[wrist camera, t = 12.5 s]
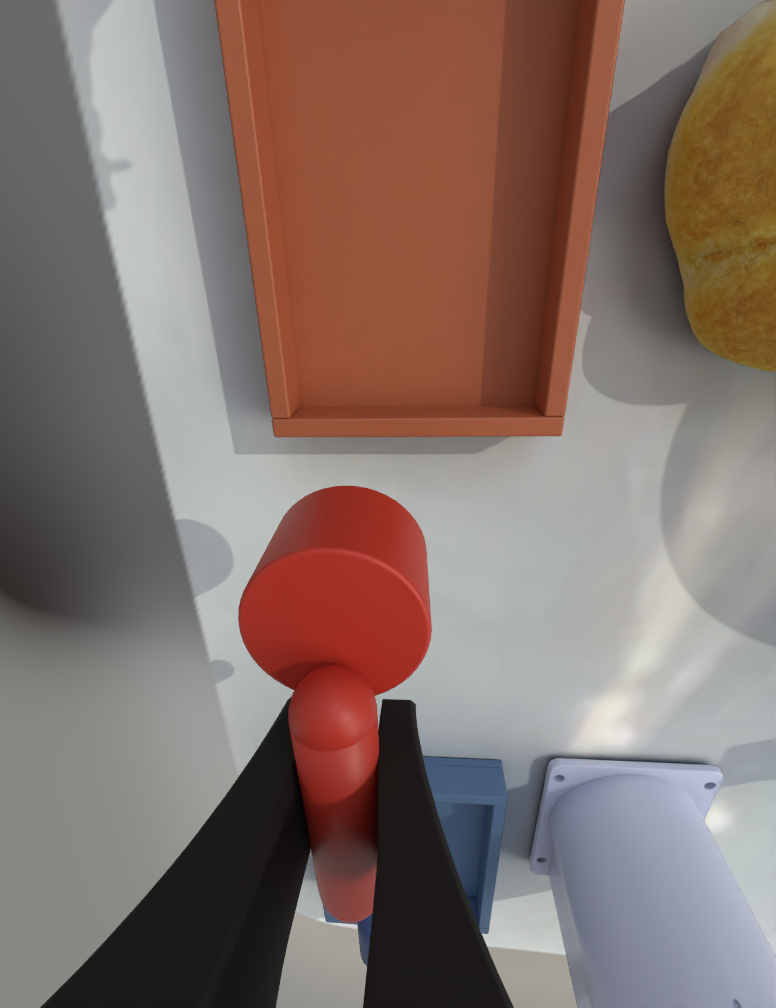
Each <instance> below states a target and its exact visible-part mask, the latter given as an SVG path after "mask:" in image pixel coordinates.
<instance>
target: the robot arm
mask: <svg viewBox="0 0 776 1008" xmlns="http://www.w3.org/2000/svg"><path fill="white" fill-rule="evenodd" d="M290 701H291V698H290V699H288V700H287V702H286V704H285V706H284V707H283V709H282V711H281V713H280V714H279V716H278V718H277V719H276V721H275V722H274V724H273V726H272V727H271V729H270V731H269V732H268V734H267V735H266V737H265V738H264V740H263V742H262V743H261V745H260V746H259V748H258V749H257V751H256V752H255V754H254V755H253V757H252V758H251V760H250V761H249V763H248V764H247V766H246V767H245V768H244V770H243V771H242V773H241V774H240V776H239V777H238V779H237V780H236V781H235V783H234V784H233V786H232V787H231V789H230V790H229V792H228V793H227V794H226V796H225V797H224V799H223V800H222V801H221V803H220V804H219V805H218V806H217V808H216V809H215V810H214V812H213V813H212V814H211V816H210V817H209V818H208V820H207V821H206V822H205V824H204V825H203V826H202V828H201V829H200V830H199V832H198V833H197V834H196V835H195V837H194V838H193V839H192V841H191V842H190V843H189V845H188V846H187V847H186V848H185V850H184V851H183V852H182V853H181V855H180V856H179V857H178V858H177V859H176V861H175V862H174V863H173V864H172V866H171V867H170V868H169V869H168V870H167V872H166V873H165V874H164V875H163V876H162V878H161V879H160V880H159V881H158V882H157V883H156V884H155V886H154V887H153V888H152V889H151V890H150V891H149V893H148V894H147V895H146V896H145V897H144V899H143V900H142V901H141V902H140V903H139V904H138V906H136V907H135V909H134V910H133V911H132V912H131V913H130V914H129V915H128V916H127V917H126V919H125V920H124V921H123V922H122V923H121V924H120V925H119V926H118V927H117V928H116V930H115V931H114V932H113V933H112V934H111V935H110V936H109V937H108V938H107V940H106V941H105V942H104V943H103V944H102V945H101V946H100V947H99V948H98V949H97V950H96V951H95V952H94V954H93V955H92V956H91V957H90V958H89V959H88V960H87V961H86V962H85V963H84V964H83V965H82V966H81V967H80V968H79V969H78V970H77V971H76V972H75V973H74V974H73V975H72V976H71V977H70V978H69V979H68V981H66V982H65V983H64V984H63V985H62V986H61V987H60V988H59V989H58V990H57V992H56V993H54V995H52V996H51V997H50V998H49V999H48V1000H47V1002H45V1003H44V1004H43V1005H42V1006H41V1007H40V1008H276V1002H277V997H278V990H279V985H280V979H281V973H282V967H283V963H284V958H285V953H286V949H287V943H288V939H289V935H290V930H291V927H292V922H293V918H294V914H295V910H296V906H297V902H298V898H299V894H300V890H301V886H302V882H303V877H304V873H305V869H306V865H307V861H308V857H309V853H310V849H311V845H310V839H309V834H308V828H307V823H306V817H305V812H304V806H303V800H302V795H301V789H300V784H299V778H298V772H297V767H296V761H295V756H294V750H293V745H292V739H291V733H290V728H289V721H288V720H289V718H288V711H289V705H290ZM378 736H379V757H378V847H377V869H376V880H375V891H374V901H373V912H372V923H371V933H370V943H369V953H368V963H367V974H366V984H365V994H364V1004H363V1008H514V1007H513V1005H512V1003H511V1001H510V999H509V996H508V994H507V992H506V990H505V988H504V985H503V983H502V981H501V979H500V976H499V974H498V972H497V970H496V967H495V965H494V963H493V960H492V958H491V956H490V953H489V951H488V948H487V946H486V943H485V941H484V939H483V936H482V934H481V931H480V929H479V927H478V924H477V921H476V919H475V916H474V914H473V911H472V909H471V906H470V904H469V901H468V899H467V896H466V893H465V891H464V888H463V885H462V883H461V880H460V877H459V875H458V872H457V869H456V866H455V864H454V861H453V858H452V855H451V852H450V849H449V846H448V843H447V840H446V837H445V834H444V831H443V828H442V825H441V822H440V819H439V815H438V812H437V809H436V805H435V802H434V798H433V795H432V791H431V788H430V784H429V781H428V777H427V773H426V769H425V765H424V760H423V756H422V751H421V746H420V741H419V735H418V729H417V720H416V704H415V703H413V702H412V701H411V700H391V699H383V700H382V707H381V714H380V722H379V730H378ZM722 780H723V774H722V773H721V771H720V769H719V768H718V767H716V766H714V765H701V764H679V763H656V762H634V761H612V760H590V759H568V758H556V759H553V760H551V761H550V762H549V764H548V767H547V773H546V778H545V783H544V788H543V793H542V799H541V804H540V809H539V814H538V819H537V824H536V830H535V835H534V840H533V845H532V850H531V856H530V861H529V864H530V870H531V871H532V872H533V873H535V874H539V875H549V878H550V882H551V887H552V892H553V896H554V901H555V906H556V910H557V915H558V920H559V924H560V929H561V933H562V938H563V943H564V947H565V952H566V957H567V961H568V966H569V971H570V975H571V979H572V985H573V989H574V994H575V998H576V1003H577V1007H578V1008H776V955H775V953H774V951H773V949H772V948H771V946H770V944H769V942H768V940H767V938H766V936H765V934H764V932H763V931H762V929H761V927H760V925H759V923H758V921H757V919H756V917H755V915H754V913H753V912H752V910H751V908H750V906H749V904H748V902H747V900H746V898H745V896H744V894H743V893H742V891H741V889H740V887H739V885H738V883H737V881H736V879H735V877H734V875H733V874H732V872H731V870H730V868H729V866H728V864H727V862H726V860H725V858H724V857H723V855H722V853H721V851H720V849H719V847H718V845H717V843H716V841H715V839H714V838H713V836H712V834H711V832H710V830H709V828H708V826H707V824H706V822H705V818H706V815H707V813H708V811H709V809H710V807H711V804H712V802H713V800H714V798H715V796H716V793H717V791H718V789H719V787H720V785H721V782H722Z"/></svg>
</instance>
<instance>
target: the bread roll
mask: <svg viewBox="0 0 776 1008" xmlns="http://www.w3.org/2000/svg"><path fill="white" fill-rule="evenodd" d="M665 218H666V224H667V227H668V230H669V233H670V237H671V240H672V244H673V247H674V250H675V252H676V255H677V259H678V263H679V269H680V272H681V276H682V279H683V285H684V302H685V309H686V314H687V317H688V320H689V323H690V326H691V328H692V331H693V333H694V335H695V337H696V338H697V340H698V341H699V342H700V343H701V344H702V345H703V346H704V347H705V348H706V349H708V350H710V351H711V352H713V353H715V354H717V355H719V356H721V357H723V358H725V359H728V360H730V361H732V362H735V363H738V364H741V365H745V366H748V367H752V368H756V369H760V370H764V371H771V372H776V0H767V1H765V2H762V3H761V4H759V5H758V6H756V7H755V8H753V9H752V10H751V11H749V12H748V13H746V14H745V15H744V16H742V17H741V18H740V19H738V20H737V21H736V22H734V23H733V24H732V25H731V26H729V27H728V28H727V29H725V30H724V31H723V32H722V33H721V34H720V35H719V37H718V38H717V40H716V41H715V43H714V44H713V46H712V47H711V49H710V52H709V54H708V57H707V59H706V61H705V64H704V66H703V69H702V71H701V74H700V76H699V78H698V81H697V83H696V86H695V88H694V90H693V93H692V94H691V96H690V98H689V100H688V102H687V104H686V105H685V107H684V109H683V112H682V114H681V117H680V119H679V121H678V124H677V126H676V129H675V132H674V135H673V138H672V141H671V145H670V148H669V151H668V157H667V166H666V175H665Z"/></svg>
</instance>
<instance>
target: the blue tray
mask: <svg viewBox="0 0 776 1008" xmlns="http://www.w3.org/2000/svg"><path fill="white" fill-rule="evenodd" d="M423 760H424V765H425V769H426V773H427V777H428V781H429V784H430V788H431V791H432V795H433V798H434V802H435V805H436V809H437V812H438V815H439V819H440V822H441V825H442V828H443V831H444V834H445V837H446V840H447V843H448V846H449V849H450V852H451V855H452V858H453V861H454V864H455V866H456V869H457V872H458V875H459V877H460V880H461V883H462V885H463V888H464V891H465V893H466V896H467V899H468V901H469V904H470V906H471V909H472V911H473V914H474V916H475V919H476V921H477V924H478V927H479V929H480V931H481V933H484V934H488V932H489V924H490V917H491V910H492V903H493V896H494V889H495V882H496V875H497V868H498V861H499V854H500V846H501V839H502V832H503V825H504V818H505V811H506V804H507V792H506V786H505V780H504V774H503V769H502V762H501V760H484V759H462V758H441V757H423ZM323 908H324V914H325V919H326V922H333V923H347V922H342V921H340V920H338V919H336V918H335V917H333V916H332V915H331V914H330V913H329V912H328V911H327V910H326V908H325V906H324V904H323ZM347 924H357V922H355V923H347Z"/></svg>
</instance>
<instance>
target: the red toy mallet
mask: <svg viewBox="0 0 776 1008" xmlns="http://www.w3.org/2000/svg"><path fill="white" fill-rule="evenodd" d="M238 619H239V627H240V633H241V636H242V639H243V642H244V644H245V646H246V648H247V650H248V652H249V653H250V655H251V656H252V658H253V659H254V661H255V662H256V663H257V664H258V665H259V666H260V667H261V668H262V669H263V670H264V671H265V672H266V673H267V674H268V675H270V676H271V677H272V678H274V679H275V680H276V681H278V682H280V683H281V684H283V685H285V686H287V687H289V688H291V689H293V690H295V691H294V692H293V695H292V697H291V701H290V705H289V711H288V718H289V720H288V721H289V728H290V733H291V739H292V745H293V750H294V756H295V761H296V767H297V772H298V778H299V784H300V789H301V795H302V800H303V806H304V812H305V817H306V823H307V828H308V834H309V839H310V845H311V851H312V856H313V862H314V867H315V873H316V878H317V884H318V890H319V894H320V897H321V900H322V902H323V904H324V906H325V908H326V910H327V911H328V912H329V913H330V914H331V915H332V916H333V917H335V918H336V919H338V920H340V921H342V922H347V923H355V922H359V921H362V920H364V919H365V918H367V917H368V916H369V915H371V914H372V912H373V901H374V891H375V880H376V869H377V847H378V757H379V736H378V719H377V704H376V699H375V695H378V694H381V693H383V692H386V691H388V690H390V689H392V688H394V687H396V686H397V685H399V684H400V683H402V682H403V681H405V680H406V679H407V678H408V677H409V676H411V674H412V673H413V672H414V671H415V670H416V669H417V668H418V666H419V665H420V663H421V662H422V660H423V659H424V657H425V654H426V652H427V650H428V647H429V644H430V640H431V631H432V628H431V613H430V597H429V582H428V567H427V552H426V544H425V539H424V536H423V534H422V531H421V529H420V527H419V525H418V524H417V522H416V520H415V519H414V518H413V517H412V515H411V514H410V513H409V512H408V511H407V510H406V509H405V508H404V507H403V506H402V505H400V504H399V503H398V502H396V501H395V500H393V499H392V498H390V497H388V496H387V495H384V494H382V493H380V492H378V491H375V490H371V489H368V488H363V487H357V486H335V487H330V488H325V489H321V490H318V491H315V492H313V493H311V494H309V495H307V496H305V497H304V498H302V499H301V500H299V501H298V502H297V503H295V504H294V505H293V506H292V507H291V508H290V509H289V510H288V512H287V513H286V514H285V515H284V517H283V519H282V520H281V522H280V524H279V526H278V528H277V530H276V531H275V533H274V535H273V537H272V539H271V541H270V543H269V545H268V546H267V548H266V550H265V552H264V554H263V556H262V558H261V560H260V561H259V563H258V565H257V567H256V569H255V571H254V573H253V575H252V576H251V578H250V580H249V582H248V584H247V586H246V588H245V590H244V592H243V595H242V597H241V600H240V605H239V617H238Z"/></svg>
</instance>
